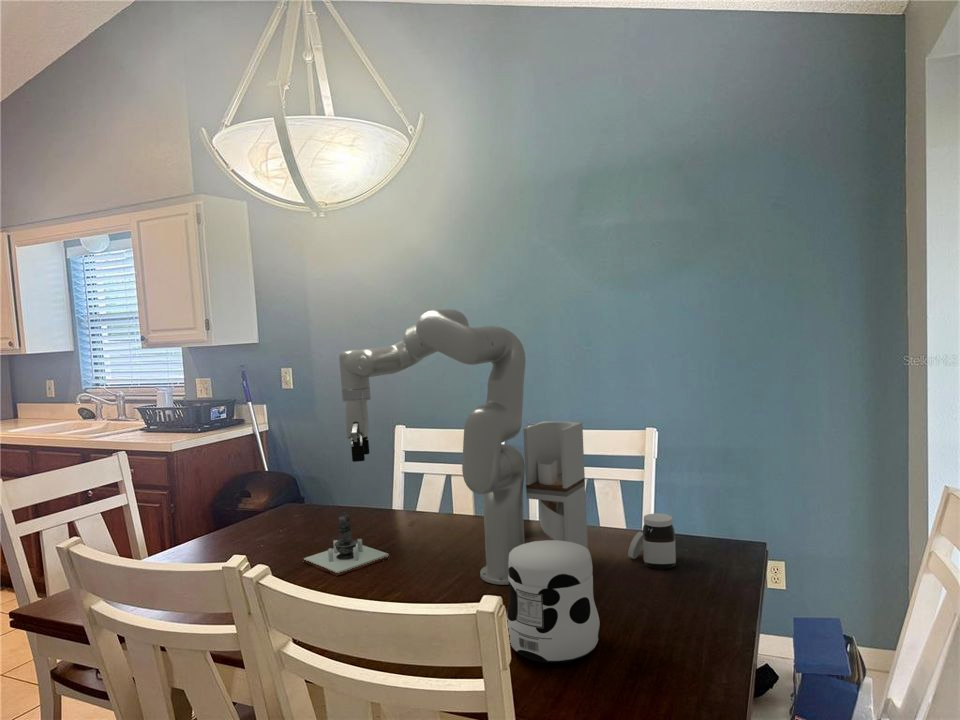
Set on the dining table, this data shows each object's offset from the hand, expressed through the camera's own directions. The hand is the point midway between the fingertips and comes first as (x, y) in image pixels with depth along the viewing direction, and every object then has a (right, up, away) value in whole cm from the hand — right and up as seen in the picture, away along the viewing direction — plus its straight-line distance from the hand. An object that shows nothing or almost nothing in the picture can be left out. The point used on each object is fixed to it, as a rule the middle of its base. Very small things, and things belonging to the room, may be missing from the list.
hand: (361, 457), depth 183 cm
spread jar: (+75, -24, -17) cm, 80 cm away
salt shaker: (-3, -26, -5) cm, 26 cm away
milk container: (+46, -27, -58) cm, 79 cm away
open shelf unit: (+52, -25, -16) cm, 60 cm away
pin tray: (-3, -27, -5) cm, 27 cm away
